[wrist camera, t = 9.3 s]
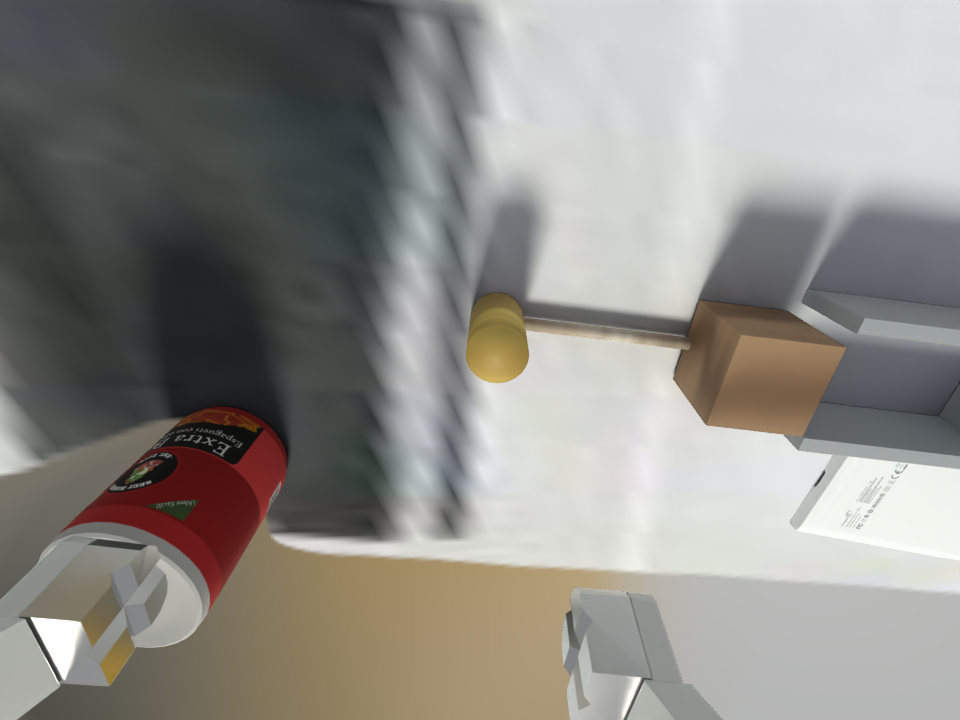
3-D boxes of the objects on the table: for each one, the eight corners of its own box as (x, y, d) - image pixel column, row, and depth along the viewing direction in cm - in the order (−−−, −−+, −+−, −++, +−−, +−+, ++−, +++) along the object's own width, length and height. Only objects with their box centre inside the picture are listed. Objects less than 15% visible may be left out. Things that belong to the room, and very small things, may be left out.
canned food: (269, 395, 30) (160, 525, 20) (306, 493, 34) (228, 645, 24) (156, 408, 31) (-3, 540, 21) (204, 503, 34) (86, 654, 24)
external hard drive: (943, 545, 35) (784, 516, 34) (1020, 456, 31) (845, 422, 31) (962, 563, 34) (797, 534, 33) (1046, 473, 30) (863, 437, 29)
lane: (807, 289, 26) (864, 318, 22) (1017, 315, 27) (1111, 348, 23) (756, 406, 30) (798, 450, 26) (944, 428, 30) (1014, 475, 26)
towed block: (475, 272, 26) (471, 302, 22) (787, 310, 27) (846, 347, 22) (466, 354, 28) (460, 396, 24) (754, 388, 29) (802, 436, 24)
